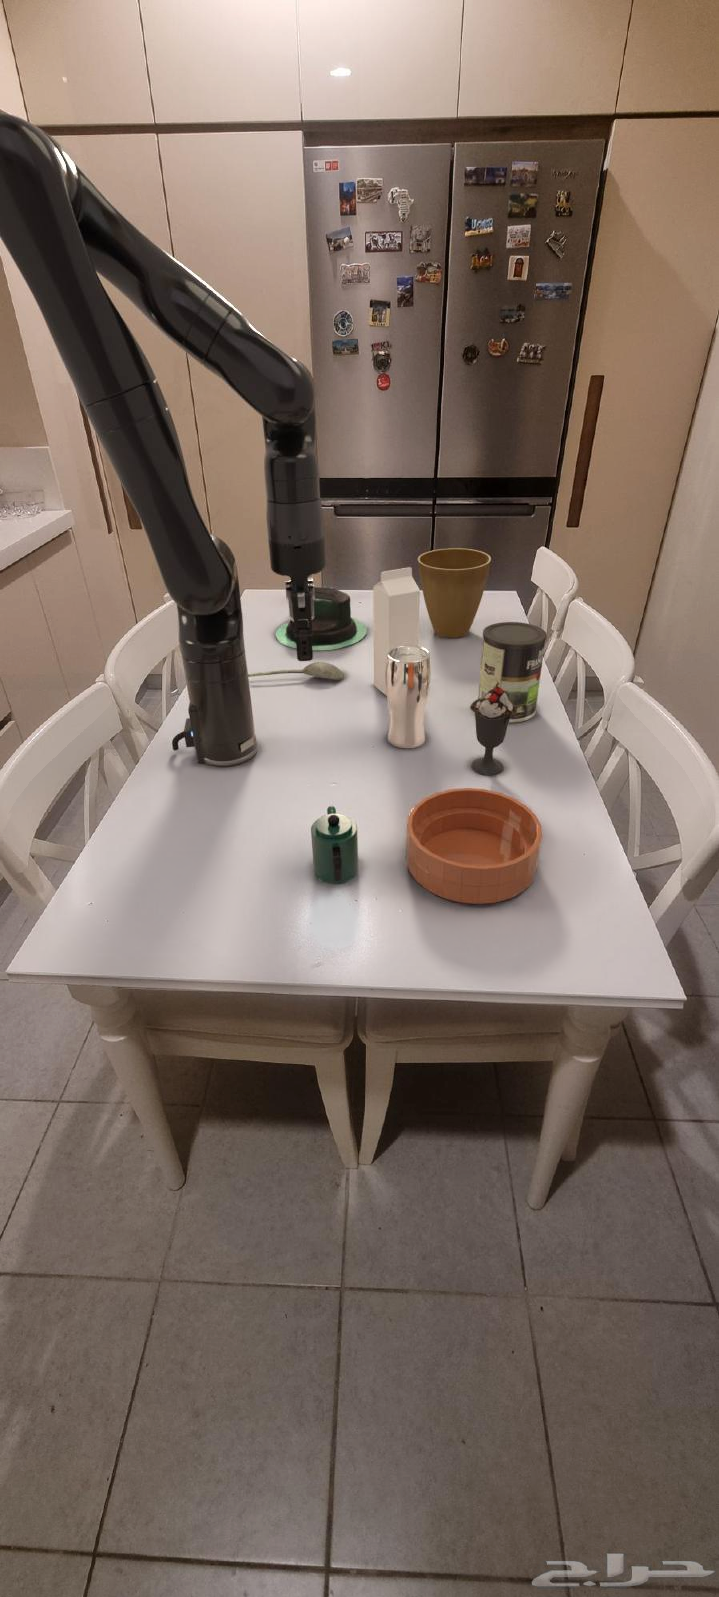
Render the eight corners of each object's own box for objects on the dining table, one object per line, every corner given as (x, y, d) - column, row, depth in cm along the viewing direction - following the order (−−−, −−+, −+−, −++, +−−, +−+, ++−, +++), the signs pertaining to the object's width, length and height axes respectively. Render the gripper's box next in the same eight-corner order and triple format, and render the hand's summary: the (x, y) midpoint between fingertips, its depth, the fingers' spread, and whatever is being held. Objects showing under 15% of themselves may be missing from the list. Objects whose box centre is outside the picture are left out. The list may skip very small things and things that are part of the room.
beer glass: (424, 751, 111) (428, 664, 102) (381, 748, 112) (381, 661, 103) (430, 730, 116) (433, 645, 108) (388, 727, 118) (389, 643, 109)
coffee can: (544, 704, 123) (555, 627, 115) (523, 728, 116) (533, 649, 108) (490, 691, 128) (497, 617, 120) (466, 714, 121) (472, 636, 113)
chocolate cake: (265, 647, 145) (275, 615, 161) (345, 685, 149) (346, 651, 166) (296, 582, 137) (303, 556, 154) (379, 625, 142) (376, 596, 159)
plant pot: (447, 614, 161) (450, 543, 152) (498, 631, 152) (505, 557, 143) (401, 632, 153) (403, 557, 144) (453, 651, 144) (458, 573, 134)
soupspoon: (345, 686, 132) (342, 673, 138) (345, 670, 130) (342, 657, 136) (228, 689, 130) (230, 676, 136) (226, 672, 129) (229, 659, 134)
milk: (373, 686, 131) (371, 567, 118) (401, 679, 133) (402, 562, 121) (389, 698, 126) (388, 576, 114) (417, 691, 128) (420, 571, 116)
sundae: (482, 783, 103) (492, 690, 95) (457, 762, 108) (463, 672, 99) (518, 771, 106) (530, 680, 97) (492, 751, 110) (501, 663, 102)
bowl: (418, 913, 81) (420, 874, 77) (397, 829, 94) (398, 792, 91) (553, 901, 82) (561, 862, 79) (514, 820, 95) (519, 783, 92)
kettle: (362, 891, 84) (360, 837, 79) (315, 895, 84) (311, 841, 79) (353, 840, 92) (352, 788, 88) (311, 844, 92) (307, 792, 87)
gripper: (267, 522, 99) (277, 631, 108) (267, 549, 87) (278, 670, 96) (320, 519, 99) (326, 629, 108) (327, 546, 88) (333, 666, 97)
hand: (303, 648), depth 102 cm, fingers open, 8 cm apart
